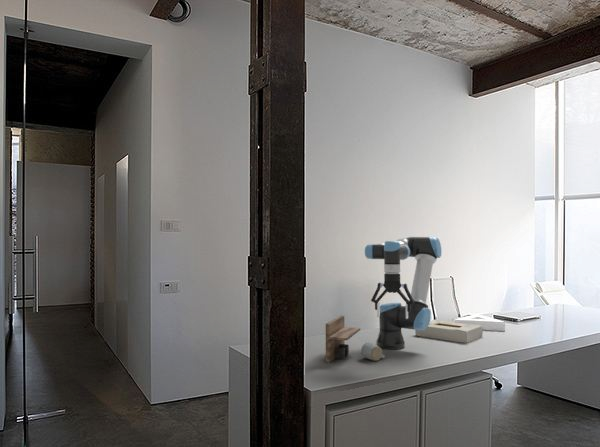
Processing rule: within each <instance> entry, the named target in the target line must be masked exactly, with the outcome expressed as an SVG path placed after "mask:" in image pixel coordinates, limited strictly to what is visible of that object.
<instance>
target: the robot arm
mask: <svg viewBox="0 0 600 447" xmlns="http://www.w3.org/2000/svg"><path fill="white" fill-rule="evenodd" d="M364 256H365V258H366V259H367V260H384V263H383V271H384V274H383V277H384V279H383V280H384V282H378V283H377V288H376V290H375V291H374V293H373V295H372V298H371V300H370V301H371V302H372V303H374V310H376V315H377V316H376V317H377V318H378V320H379V332H378V335H377V338H376V343H375V345H376V346H378V347H380V348H381V349H384V350H401V349H403V348H405V347H406V345H405V340H404V336H403V333H402V329H408V330H414V331H415V330H425V329H426V328H427V327H428V325H429V323H430V321H431V319H432V318H431V315H432V312H431V310H430V308H429V305H428V304H427V298H428V293H429V287H430V282H431V276H432V270H433V265H434V264H436V263H437V259H440V258H441V257H442V244H441V242H440V240H439V238H438V237H437V236H436V237H435V236H408V237H403V238H399V239H397V240H385V242H383V243H378V244H373V243H371V244H366V246H365V248H364ZM408 258H414V260H416V266H415V270H414V275H413V276H414V277H413V281H412V285H411V292H410V290H409V288H408V284H407V283H405V282H404V283H401V274H400V272H401V260H402V261H404V260H406V259H408ZM381 288H384V290H383V291H382V293H381V294H379V292H380V291H381ZM401 288H402V289H404V291H405V294H406V295H405V294H404V293H403V292H402V290H401ZM387 293H392V294H395V293H397V294H398V295H399V296H400V298H401V299H402V300H403V302H405V305H402V303H401V302H388V303H383V304H381V303H380V301H381V299H382V298H383V297H384V296H385V295H386V294H387ZM378 295H379V296H378ZM377 296H378V297H377Z"/></svg>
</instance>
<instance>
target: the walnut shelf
mask: <svg viewBox="0 0 600 447" xmlns="http://www.w3.org/2000/svg"><path fill="white" fill-rule="evenodd" d="M359 331H361V327H350V326H349V327H348V326H345V315H342V314H341V315H339V316H337V317H336V318H333V319H332V320H329V321H328V322H327V323H325V363H331V362H332V361H333V360H335V359H341V360H342V359H343V360H345V358H346V356H349V355H350V354H349V348H350V347H349V344H346V342H345V341H348V340H350V339H351V338H352V337H353V336H355V335H356V334H357V333H359Z"/></svg>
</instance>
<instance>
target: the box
mask: <svg viewBox="0 0 600 447" xmlns="http://www.w3.org/2000/svg"><path fill="white" fill-rule="evenodd" d="M414 332H415V336H418V337H423V338H430V339H438V340H444V341H449V342H450V341H451V342H457V343H464V344H468V343H471V342H473V341H475V340H478V339H480V338H483V334H484V333H483V332H484V330H482V326H481V325H473V324H461V323H455V321H454V322H453V321H445V320H439V319H432V320H430V323H429V325H428V327H427V328H426V329H425V330H414Z"/></svg>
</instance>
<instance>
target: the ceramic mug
mask: <svg viewBox="0 0 600 447" xmlns="http://www.w3.org/2000/svg"><path fill="white" fill-rule="evenodd" d="M361 356H362V357H363V358H365V359H368V360H370V361H373V362H378V361H380V360H381V359H385V357H386V355H384V354H383V348H380V347H378V346H376V344H374V343H371V342H369V341H368V342H365V343H364V344H363V345H362V346H361Z"/></svg>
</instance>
